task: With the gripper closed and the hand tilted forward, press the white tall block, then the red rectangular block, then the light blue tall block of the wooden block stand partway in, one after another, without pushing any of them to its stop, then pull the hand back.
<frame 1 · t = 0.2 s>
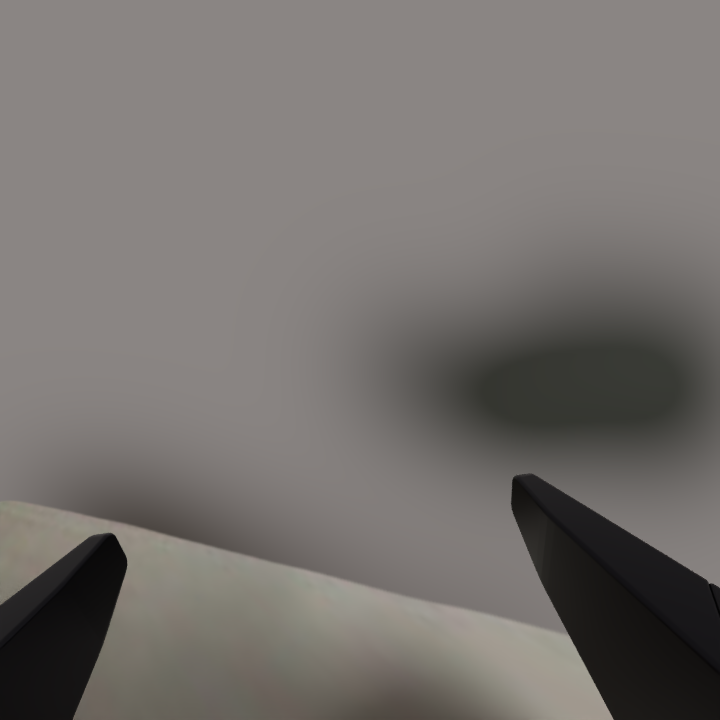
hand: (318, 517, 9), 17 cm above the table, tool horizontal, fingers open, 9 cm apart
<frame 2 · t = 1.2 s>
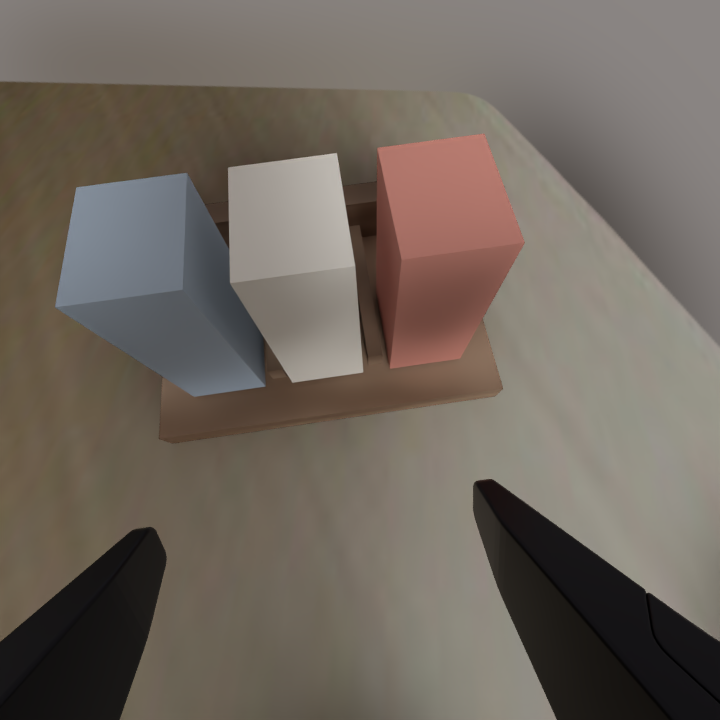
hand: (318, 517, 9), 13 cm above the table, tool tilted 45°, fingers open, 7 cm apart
light blue tall block: (191, 308, 18), point 7 cm above the table, slide at 0.0 cm
wooden block stand: (323, 321, 25), on the table
red rectangular block: (427, 275, 18), point 7 cm above the table, slide at 0.0 cm
white tall block: (310, 291, 18), point 7 cm above the table, slide at 0.0 cm
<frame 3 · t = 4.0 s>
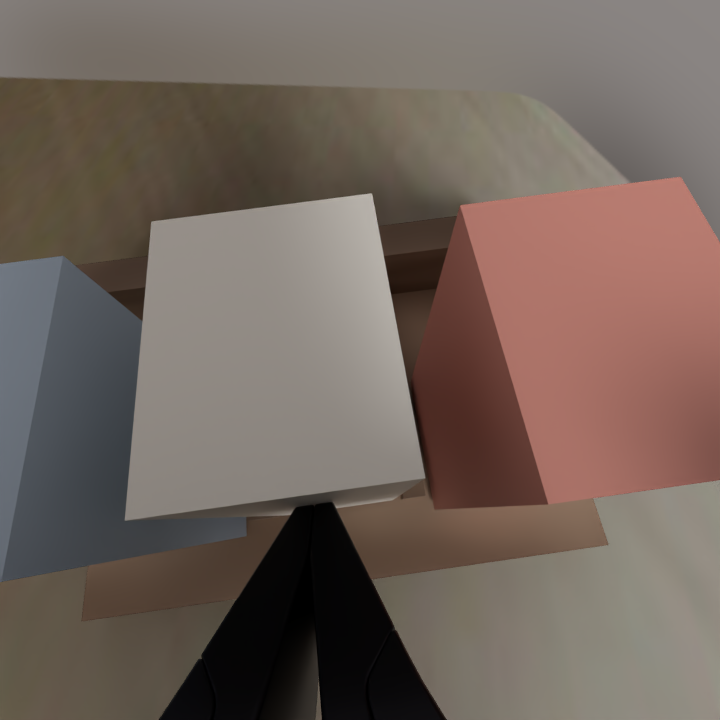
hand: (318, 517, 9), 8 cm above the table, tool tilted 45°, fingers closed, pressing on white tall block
light blue tall block: (113, 456, 10), point 7 cm above the table, slide at 0.0 cm
wooden block stand: (333, 415, 18), on the table
red rectangular block: (514, 401, 11), point 7 cm above the table, slide at 0.0 cm
white tall block: (314, 410, 11), point 7 cm above the table, slide at 0.5 cm, touching gripper
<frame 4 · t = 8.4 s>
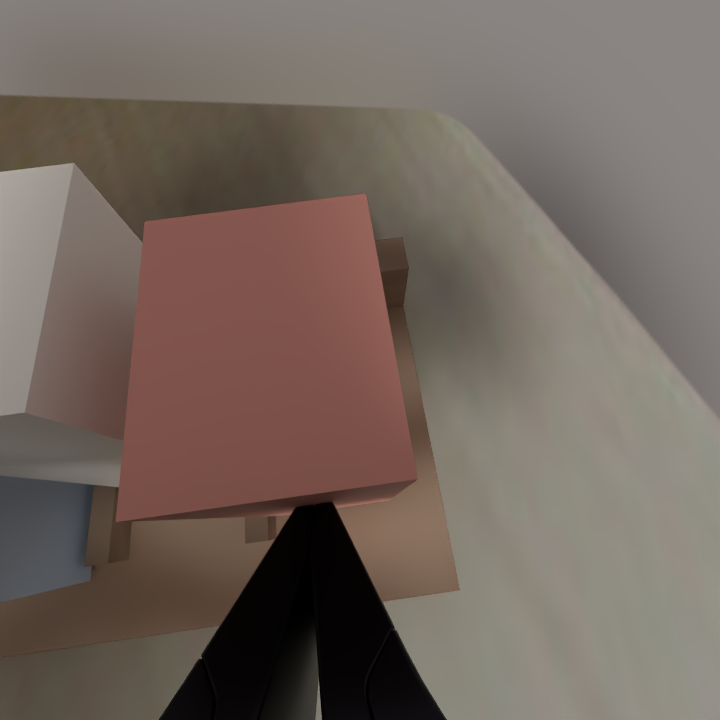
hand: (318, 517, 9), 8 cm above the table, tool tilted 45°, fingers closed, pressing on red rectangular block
wooden block stand: (209, 448, 17), on the table
red rectangular block: (310, 410, 11), point 7 cm above the table, slide at 1.3 cm, touching gripper
white tall block: (117, 380, 11), point 7 cm above the table, slide at 2.9 cm
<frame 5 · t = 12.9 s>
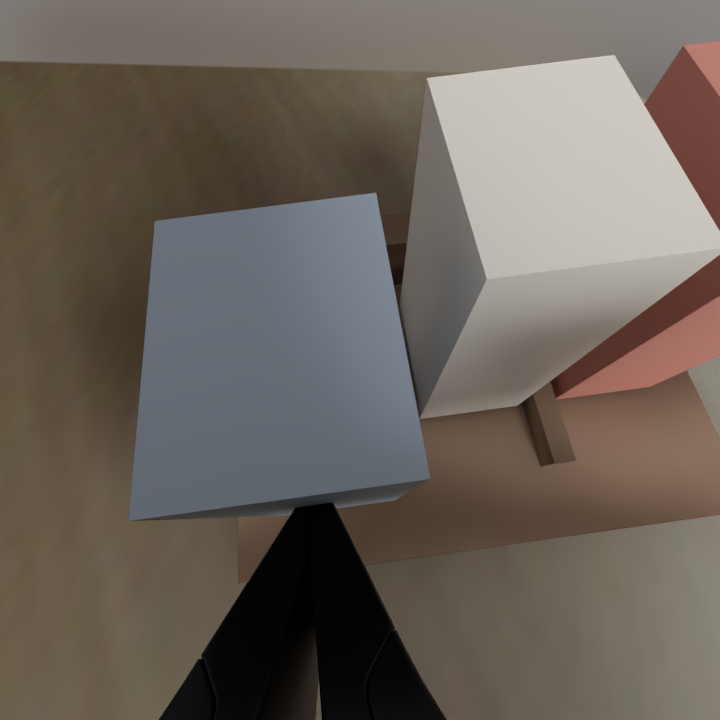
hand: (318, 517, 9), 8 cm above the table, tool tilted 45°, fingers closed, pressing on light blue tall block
light blue tall block: (316, 410, 11), point 7 cm above the table, slide at 0.0 cm, touching gripper
wooden block stand: (451, 388, 18), on the table
red rectangular block: (661, 270, 12), point 7 cm above the table, slide at 3.0 cm
white tall block: (486, 294, 12), point 7 cm above the table, slide at 2.9 cm
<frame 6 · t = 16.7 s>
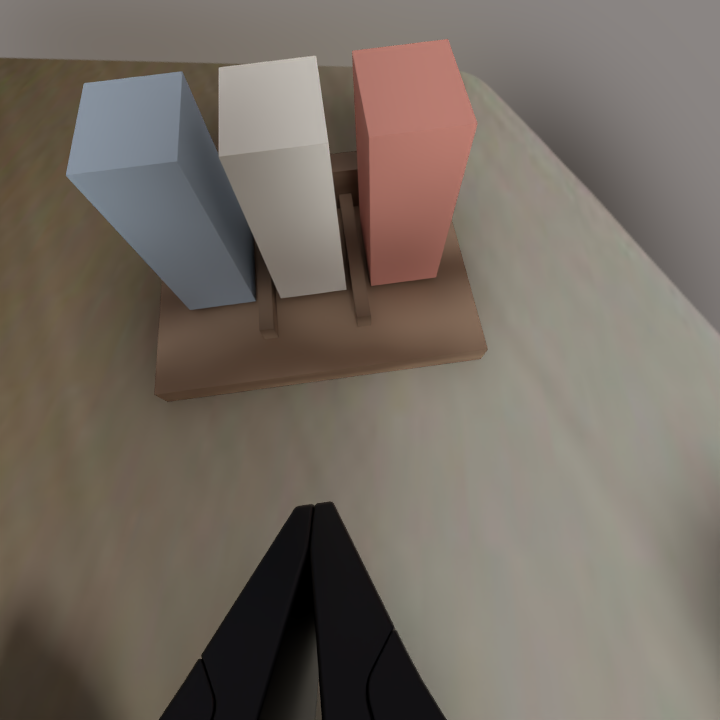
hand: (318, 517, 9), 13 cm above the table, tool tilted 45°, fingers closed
light blue tall block: (186, 213, 19), point 7 cm above the table, slide at 3.0 cm
wooden block stand: (315, 287, 25), on the table
red rectangular block: (402, 186, 20), point 7 cm above the table, slide at 3.0 cm
white tall block: (295, 200, 19), point 7 cm above the table, slide at 2.9 cm
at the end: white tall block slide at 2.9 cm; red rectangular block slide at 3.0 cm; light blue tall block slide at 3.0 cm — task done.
